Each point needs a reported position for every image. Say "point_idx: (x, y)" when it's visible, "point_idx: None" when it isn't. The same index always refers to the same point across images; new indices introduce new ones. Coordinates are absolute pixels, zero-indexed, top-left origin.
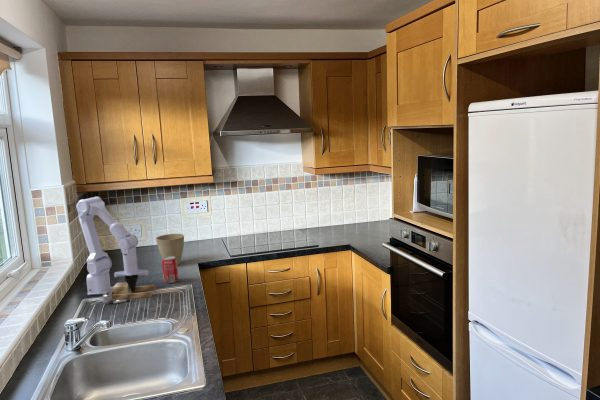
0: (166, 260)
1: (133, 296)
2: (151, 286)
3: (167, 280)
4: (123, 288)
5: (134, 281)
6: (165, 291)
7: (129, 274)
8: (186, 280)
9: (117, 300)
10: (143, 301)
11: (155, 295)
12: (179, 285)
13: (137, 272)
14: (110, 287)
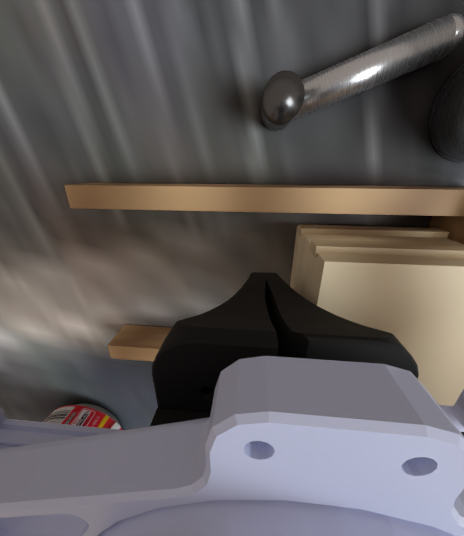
0: None
1: (238, 184)
2: (137, 345)
3: (81, 418)
4: (364, 249)
5: (216, 312)
6: (43, 284)
7: (300, 410)
8: (18, 415)
9: (397, 47)
10: (116, 65)
11: (76, 216)
12: (12, 361)
13: (18, 507)
14: (457, 411)
